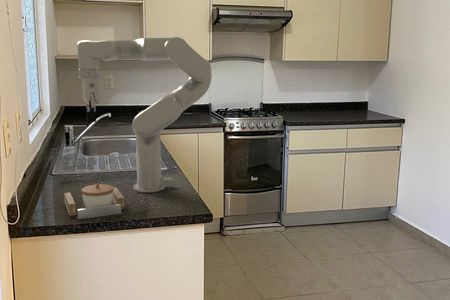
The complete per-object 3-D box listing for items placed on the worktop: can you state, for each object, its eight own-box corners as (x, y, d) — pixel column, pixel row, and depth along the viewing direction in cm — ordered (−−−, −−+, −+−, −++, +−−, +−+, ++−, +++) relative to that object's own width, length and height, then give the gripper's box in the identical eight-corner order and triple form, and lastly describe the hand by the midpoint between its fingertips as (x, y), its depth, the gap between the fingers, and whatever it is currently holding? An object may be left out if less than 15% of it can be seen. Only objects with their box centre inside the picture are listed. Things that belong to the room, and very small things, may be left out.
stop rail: (120, 212, 167) (119, 203, 166) (121, 213, 166) (120, 205, 165) (77, 217, 162) (77, 209, 161) (78, 219, 160) (78, 210, 160)
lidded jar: (78, 208, 171) (77, 182, 169) (107, 203, 177) (106, 178, 175) (88, 217, 162) (87, 190, 160) (119, 211, 168) (118, 185, 166)
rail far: (70, 203, 177) (70, 192, 176) (75, 214, 164) (75, 203, 164) (64, 203, 176) (64, 193, 175) (69, 215, 164) (68, 204, 163)
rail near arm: (116, 197, 183) (115, 187, 183) (124, 208, 171) (124, 197, 170) (110, 198, 183) (110, 188, 182) (118, 209, 170) (118, 198, 169)
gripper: (102, 74, 180) (105, 123, 184) (95, 72, 194) (98, 118, 197) (81, 75, 177) (84, 125, 181) (76, 73, 191) (79, 119, 194)
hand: (91, 121), depth 189 cm, fingers closed
